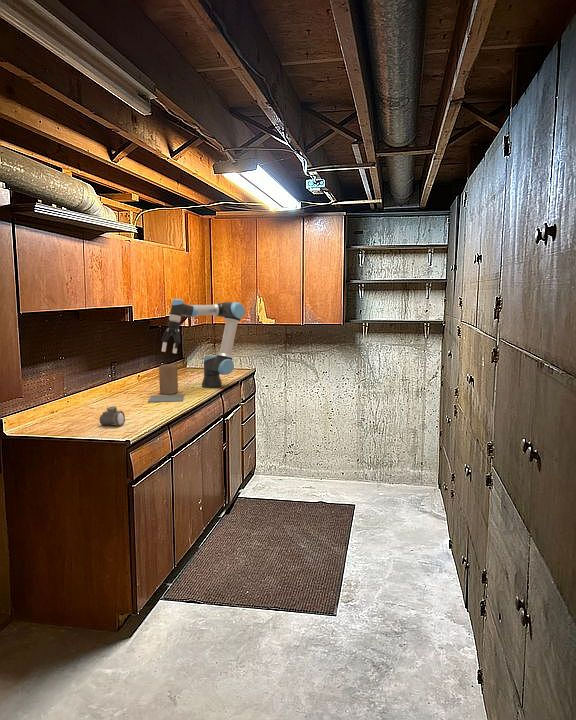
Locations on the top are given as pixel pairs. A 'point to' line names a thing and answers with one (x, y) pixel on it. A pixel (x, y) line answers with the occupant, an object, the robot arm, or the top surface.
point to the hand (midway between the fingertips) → (168, 352)
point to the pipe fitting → (112, 417)
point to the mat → (166, 398)
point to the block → (168, 379)
